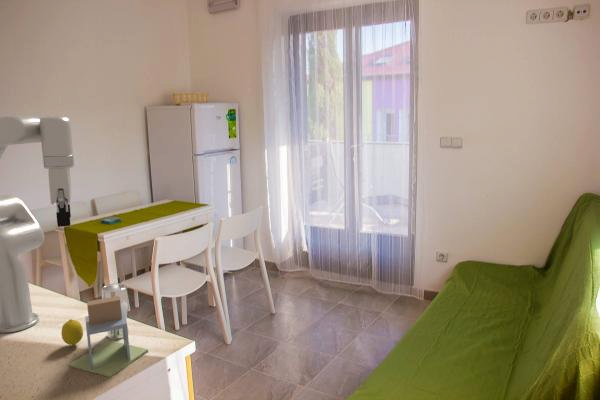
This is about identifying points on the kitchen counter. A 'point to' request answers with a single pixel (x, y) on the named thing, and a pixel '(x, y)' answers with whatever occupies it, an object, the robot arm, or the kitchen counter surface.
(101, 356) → the mat
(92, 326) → the cover
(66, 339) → the lemon
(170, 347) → the kitchen counter surface
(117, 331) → the beer glass
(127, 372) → the kitchen counter surface
